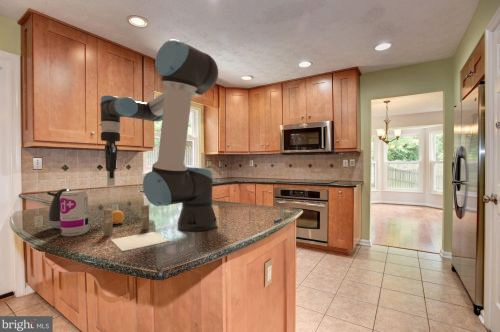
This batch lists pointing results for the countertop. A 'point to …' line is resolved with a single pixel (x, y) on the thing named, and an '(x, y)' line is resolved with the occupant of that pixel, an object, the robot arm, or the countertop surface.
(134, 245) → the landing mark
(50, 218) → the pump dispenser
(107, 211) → the post left
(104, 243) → the countertop surface
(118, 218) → the ball
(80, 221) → the supplement can
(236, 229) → the countertop surface
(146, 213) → the post right
